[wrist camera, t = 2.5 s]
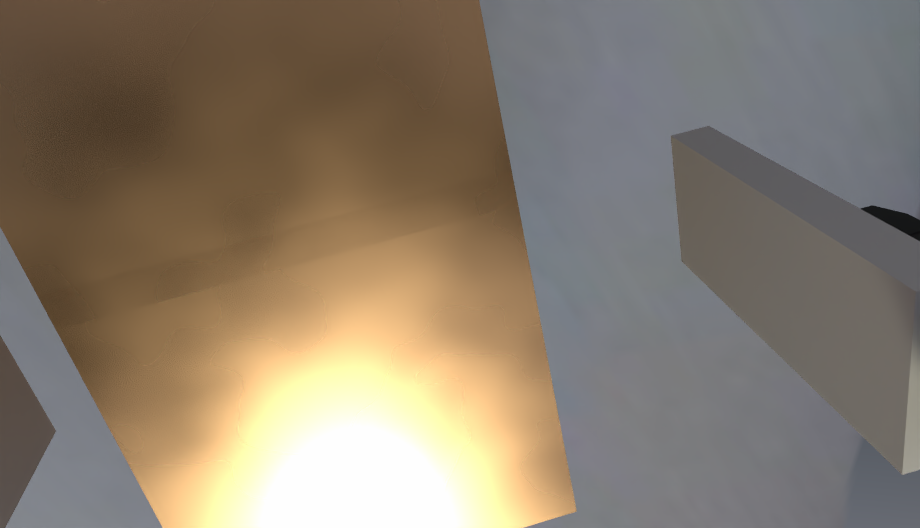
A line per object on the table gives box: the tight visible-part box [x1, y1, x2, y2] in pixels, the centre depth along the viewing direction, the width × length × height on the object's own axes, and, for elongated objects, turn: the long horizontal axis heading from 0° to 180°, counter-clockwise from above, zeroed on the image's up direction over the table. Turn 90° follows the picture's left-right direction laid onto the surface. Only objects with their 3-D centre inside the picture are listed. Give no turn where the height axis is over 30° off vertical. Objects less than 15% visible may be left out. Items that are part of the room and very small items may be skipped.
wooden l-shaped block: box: [0, 0, 576, 528], centre depth 15 cm, size 6×12×12 cm, turn 12°
